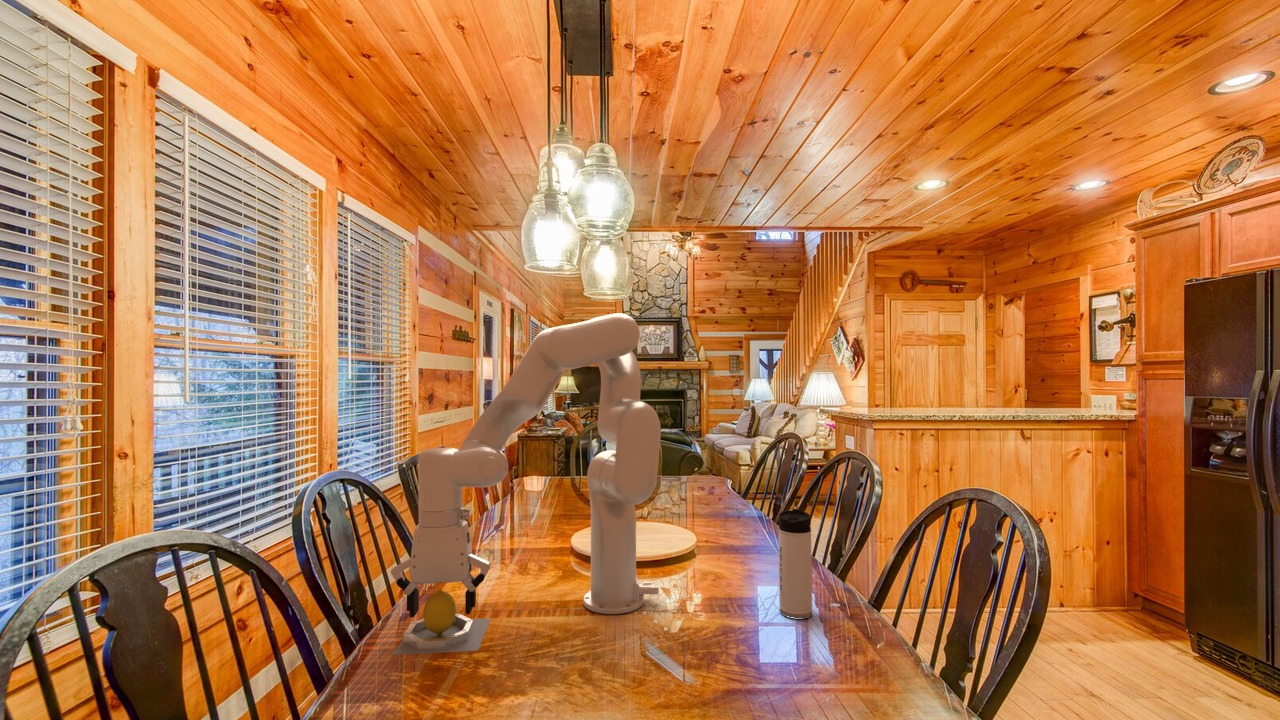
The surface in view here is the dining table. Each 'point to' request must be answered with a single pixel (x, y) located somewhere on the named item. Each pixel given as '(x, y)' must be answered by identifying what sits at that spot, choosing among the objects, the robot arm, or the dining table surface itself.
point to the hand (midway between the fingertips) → (441, 612)
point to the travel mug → (795, 564)
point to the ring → (437, 643)
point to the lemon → (439, 612)
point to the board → (465, 646)
